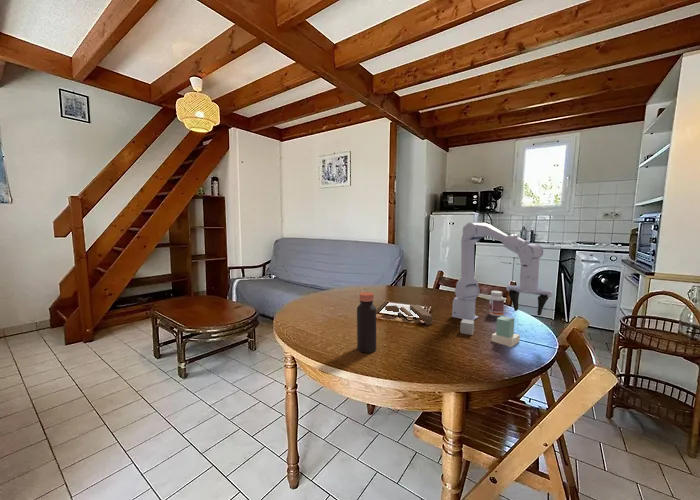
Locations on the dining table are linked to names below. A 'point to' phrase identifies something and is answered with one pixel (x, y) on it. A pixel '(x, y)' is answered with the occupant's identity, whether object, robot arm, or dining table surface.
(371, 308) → the vinegar
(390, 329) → the dining table surface
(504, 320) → the teal block
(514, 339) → the cream slab
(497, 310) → the pill bottle
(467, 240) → the robot arm
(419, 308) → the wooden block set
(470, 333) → the grey block
